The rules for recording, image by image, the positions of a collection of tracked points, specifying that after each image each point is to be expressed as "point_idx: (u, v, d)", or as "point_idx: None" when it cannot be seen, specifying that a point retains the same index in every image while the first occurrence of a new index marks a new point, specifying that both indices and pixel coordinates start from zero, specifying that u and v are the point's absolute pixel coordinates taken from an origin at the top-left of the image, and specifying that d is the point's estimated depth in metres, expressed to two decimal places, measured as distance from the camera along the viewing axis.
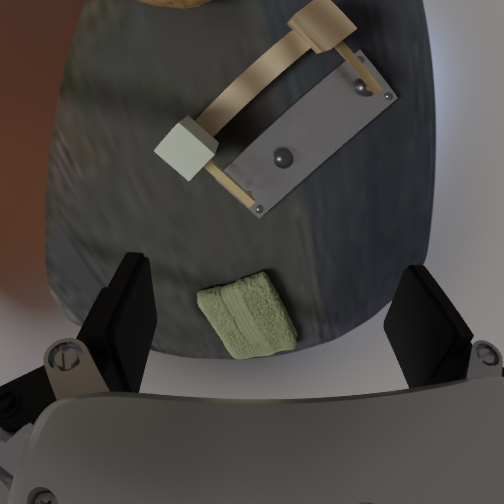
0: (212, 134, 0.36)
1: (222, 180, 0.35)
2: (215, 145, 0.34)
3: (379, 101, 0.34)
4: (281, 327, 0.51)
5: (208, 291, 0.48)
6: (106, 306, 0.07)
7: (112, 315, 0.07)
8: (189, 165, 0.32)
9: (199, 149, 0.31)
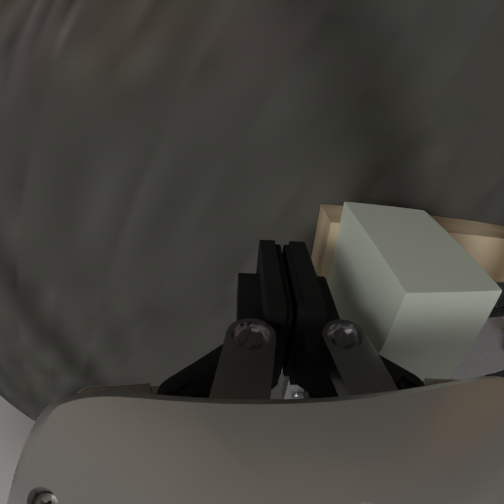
0: None
1: None
2: None
3: (503, 363, 0.22)
4: None
5: None
6: (273, 286, 0.09)
7: (284, 294, 0.09)
8: None
9: (445, 368, 0.09)
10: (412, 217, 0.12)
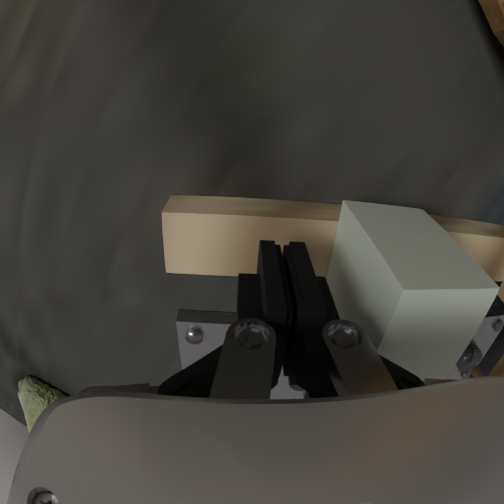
0: None
1: None
2: None
3: (455, 374, 0.22)
4: None
5: (40, 391, 0.22)
6: (274, 286, 0.09)
7: (284, 294, 0.09)
8: None
9: (443, 365, 0.09)
10: (410, 216, 0.12)
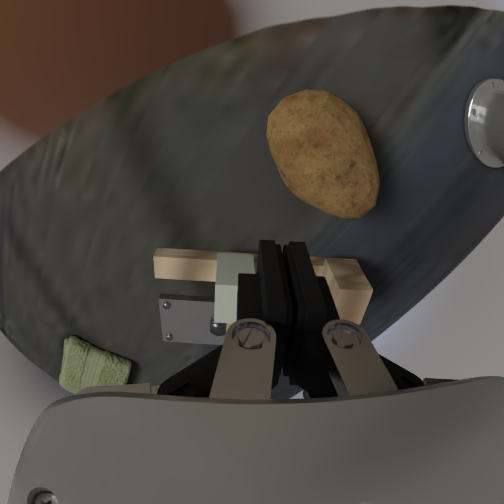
0: (189, 278, 0.37)
1: None
2: None
3: None
4: None
5: (80, 343, 0.44)
6: (274, 286, 0.09)
7: (284, 294, 0.09)
8: (226, 315, 0.33)
9: None
10: (242, 259, 0.35)
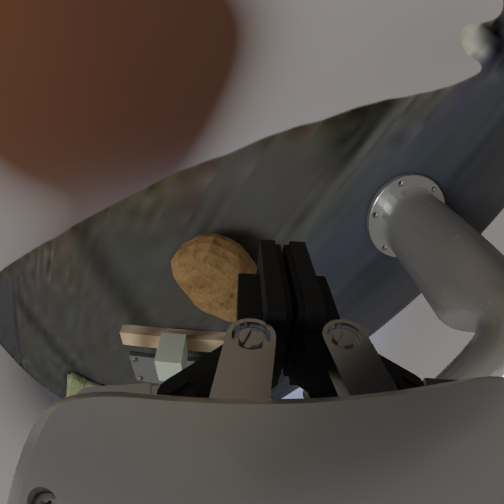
0: (145, 345, 0.50)
1: None
2: (186, 364, 0.48)
3: None
4: None
5: (78, 378, 0.57)
6: (274, 286, 0.09)
7: (284, 294, 0.09)
8: (166, 377, 0.45)
9: None
10: (177, 338, 0.47)
